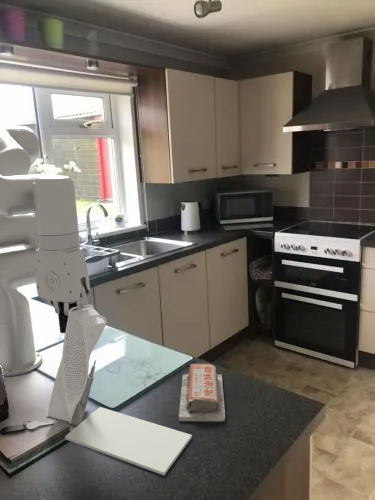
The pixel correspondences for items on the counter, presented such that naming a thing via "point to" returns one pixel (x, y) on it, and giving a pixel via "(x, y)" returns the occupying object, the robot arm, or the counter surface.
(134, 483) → the counter surface
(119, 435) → the mat
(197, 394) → the packaged product
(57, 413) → the twisted tower model
